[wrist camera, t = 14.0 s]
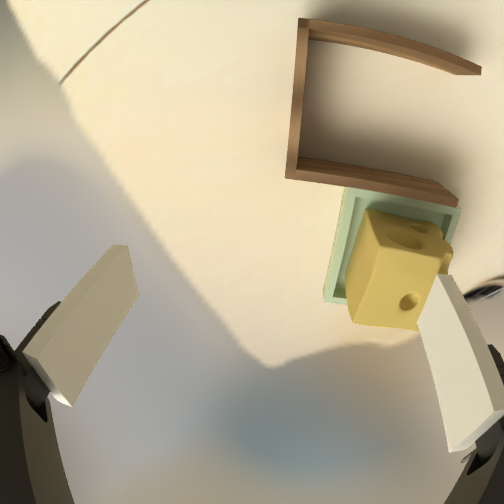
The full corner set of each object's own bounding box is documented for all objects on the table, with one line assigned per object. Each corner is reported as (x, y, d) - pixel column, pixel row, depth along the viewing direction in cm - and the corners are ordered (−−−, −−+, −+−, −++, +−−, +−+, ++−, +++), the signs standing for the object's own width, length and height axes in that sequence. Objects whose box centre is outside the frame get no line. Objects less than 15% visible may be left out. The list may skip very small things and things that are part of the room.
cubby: (298, 30, 26) (298, 17, 21) (456, 67, 24) (481, 66, 19) (287, 164, 34) (284, 178, 29) (436, 190, 33) (456, 208, 27)
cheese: (434, 220, 34) (467, 261, 25) (406, 288, 39) (425, 338, 31) (361, 202, 35) (379, 242, 26) (339, 277, 40) (346, 328, 32)
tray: (345, 180, 34) (348, 187, 32) (452, 201, 33) (461, 209, 31) (322, 290, 42) (323, 302, 40) (417, 301, 41) (421, 311, 39)
